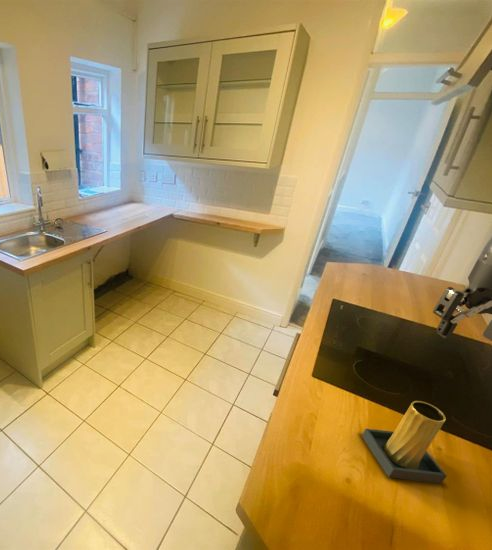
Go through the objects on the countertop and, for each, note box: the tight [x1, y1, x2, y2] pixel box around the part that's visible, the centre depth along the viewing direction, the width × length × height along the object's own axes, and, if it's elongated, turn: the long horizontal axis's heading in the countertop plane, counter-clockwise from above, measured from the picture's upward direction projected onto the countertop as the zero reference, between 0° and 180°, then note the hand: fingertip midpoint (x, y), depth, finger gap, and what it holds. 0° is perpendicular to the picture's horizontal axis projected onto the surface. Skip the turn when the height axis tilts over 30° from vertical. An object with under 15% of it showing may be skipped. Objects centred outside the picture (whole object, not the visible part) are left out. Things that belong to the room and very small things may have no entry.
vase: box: [384, 400, 447, 470], centre depth 64 cm, size 6×6×14 cm
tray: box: [361, 428, 448, 484], centre depth 67 cm, size 10×10×3 cm
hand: (465, 337), depth 60 cm, fingers open, 8 cm apart
